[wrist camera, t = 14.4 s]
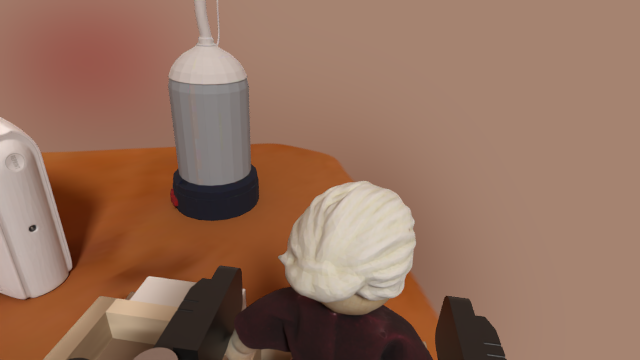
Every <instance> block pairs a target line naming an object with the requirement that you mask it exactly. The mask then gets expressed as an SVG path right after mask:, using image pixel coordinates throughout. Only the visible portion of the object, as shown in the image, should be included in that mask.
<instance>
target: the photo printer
mask: <svg viewBox="0 0 640 360" xmlns="http://www.w3.org/2000/svg"><path fill="white" fill-rule="evenodd" d="M71 269H72V260H71V256H70V252H69V249H68V245H67V241H66V238H65V234H64V231H63V227H62V224H61V220H60V217H59V213H58V210H57V206H56V203H55V199H54V196H53V192H52V189H51V185H50V182H49V178H48V175H47V172H46V168H45V165H44V162H43V158H42V155H41V152H40V150H39V148H38V146H37V144H36V143H35V142H34V141H33V139H32V138H31V137H30V136H28V135H27V134H26V133H25V132H24V131H22V130H21V129H20V128H18V127H17V126H15V125H14V124H12V123H10V122H9V121H7V120H5V119H3V118H1V117H0V293H3V294H5V295H8V296H11V297H14V298H18V299H26V298H29V297H31V298H35V297H38V296H41V295H44V294H46V293H48V292H50V291H52V290H54V289H55V288H57V287H58V286H59V285H61V284H62V283H63V282H64V281H65V280H66V278H67V277H68V272H69V271H70V270H71Z"/></svg>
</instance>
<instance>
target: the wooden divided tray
mask: <svg viewBox="0 0 640 360" xmlns="http://www.w3.org/2000/svg"><path fill="white" fill-rule="evenodd" d="M195 284H196V283H195V282H188V281H180V280H173V279H165V278H158V277H151V276H148V277H147V279H146V280H145V281H144V283H143V284H142V285H141V286H140V288H139V289H138V290H137V291H136V292H131V293H130V294H129V295H128V296H127V298H126V299H125V300H124V299H117V298H110V297H103V296H100V297H99V298H98V299H97V300H96V301H95V302H94V303H93V304H92V306H91V307H90V308H89V309H88V310H87V311H86V312H85V313H84V314H83V316H82V317H81V318H80V319H79V320H78V321H77V322H76V323H75V325H74V326H73V327H72V328H71V329H70V330H69V331H68V332H67V333H66V335H65V336H64V337H63V338H62V339H61V340H60V341H59V342H58V344H57V345H56V346H55V347H54V348H53V349H52V350H51V351H50V352H49V354H48V355H47V356H46V357H45V358H44V359H43V360H68V359H71V358H86V359H89V360H133V359H134V358H135V357H136V356H138V355H139V354H141V353H142V352H144V351H146V350H149V349H152V348H153V347H154V346H155V344H156V342H157V341H158V339H159V338H160V336H161V334H162V333H163V331H164V330H165V328H166V326H167V325H168V323H169V322H170V320H171V318H172V317H173V315H174V314H175V312H176V311H177V310H178V307H179V305H180V304H181V302H182V301H183V300H184V297H185V296H186V294H187V293H188V291H189V289H190V288H191V287H192V286H193V285H195ZM242 293H243V305H242V311H243V310H244V309H245V308H246V293H245V289H242ZM390 310H391V309H390ZM423 343H424V345H425V346H426V342H423ZM426 348H427V346H426ZM291 358H292V355H291V352H284V351H279V350H273V349H262V350H260V349H258V350H256V351H255V352H254V355H253V357H252V358H251V359H250V360H290V359H291ZM222 360H229V359H228V358H227V356H226V354H225V355H224V357H223V359H222Z"/></svg>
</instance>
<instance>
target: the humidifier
mask: <svg viewBox="0 0 640 360" xmlns="http://www.w3.org/2000/svg"><path fill="white" fill-rule="evenodd" d="M194 5H195V14H196V20H197V25H198V29H199V33H200V37H199V38H198V40H199V43H197V44H196V46H195V47H193V48H192V49H190V50H189V51H186V52H185V53H183V54H182V55H181V56H180V57H179V58H178V59H177V60H176V61H175V62H174V64H173V65H172V67H171V70H170V73H169V76H168V77H169V86H168V88H169V96H170V104H171V112H172V120H173V127H174V136H175V144H176V152H177V160H178V169H177V171H176V172H175V173H174V177H173V189H171V193H170V195H171V201H172V203H173V205H174V206H176V207H177V209H178V210H179V212H181V213H182V214H184V215H186V216H187V217H191V218H195V219H198V220H211V221H214V220H224V219H230V218H233V217H237V216H240V215H242V214H244V213H246V212H248V211H250V210H251V209H252V208H253V207H254V206H255V205H256V204H257V201H258V199H259V185H258V177H257V171H256V168H255V167H254V166H253V165H252V164H251V154H250V122H249V86H248V82H247V75H246V73H245V71H244V69H243V67H242V65H241V64H240V63H239V62H238V61H237V60H236V59H235V58H234V57H233V56H232V55H231V54H229V53H228V52H226V51H224V50H222V49H221V48H219V47H218V44H219V35H220V32H219V14H218V0H217V19H218V42H217V45H216V44H215V43H214V41H213V37H211V32H210V28H209V23H208V18H207V12H206V0H194Z"/></svg>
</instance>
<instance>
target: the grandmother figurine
mask: <svg viewBox="0 0 640 360" xmlns="http://www.w3.org/2000/svg"><path fill="white" fill-rule="evenodd" d="M414 223H415V221H414V219H413V218H412V216H411V210H410V209H409V207H407V206H406V205H404V204H403V202H402V200H401V198H400V197H399V196H398V195H397V194H396V193H395V192H393V191H391V190H389V189H383V188H381V187H378V186H375V185H373V184H371V183H369V182H368V181H360V182H356V183H354V182H352V183H345V184H343V185H339V186H335V187H332V188H330V189H328V190H327V191H326V192H324V193H323V194H321V195H319V196H317V197H316V198H315V199H314V200H313V201H312V203H311V204H310V206H309V207H308V208H307V209H306V210H305V212H304V214H303V215H301V216H300V218H299V219H298V220H297V221H296V222H295V223H294V225H293V228H292V231H291V234H290V237H289V239H288V249H287V252H286V253H284V254H283V255H280V256H279V257H278V258H279V259H280V260H281V262H282V263H283V264H284V265H285V275H286V279H287V280H288V282H289V283H290V285H291V286H292V287H287V288H282V289H279V290H276V291H274V292H272V293H270V294H268V295H265V296H264V297H262V298H260V299H259V300H257V301H256V302H254V303H253V304H251V305H250V306H248V307H247V308H245V309H244V310H243V311H241V312H240V313H239V314H238V315H236V317H235V319H234V327H235V329H234V331H233V334H232V336H231V338H230V340H229V344H228V347H227V350H226V352H225V354H226V356H227V358H228V359H229V360H250V359H251V358H252V357H253V355H254V352H255V351H256V350H258V349H260V350H262V349H273V350H279V351H284V352H291V355H292V358H291V359H290V360H433V359H432V357H431V355H430V353H429V351H428V350H427V348H426V346H425V345H424V343H423V342H422V341H421V339H420V337H419V336H418V334H417V332H416V331H415V329H414V328H413V327H412V325H411V324H410V323H409V322H408V321H406V320H405V319H404V318H403V317H401V316H400V315H398V314H397V313H395V312H393V311H392V310H390V309H389V308H387V307H386V306H384V305H383V304H384V303H385V302H386V301H388V299H389V298H394V297H396V296H397V295H399V294H400V293H401V292H402V290H403V288H404V279H405V277H406V274H407V273H408V272H409V270H410V269H411V267H412V263H413V250H414V247H415V245H416V240H415V233H414V231H413V226H414Z"/></svg>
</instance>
